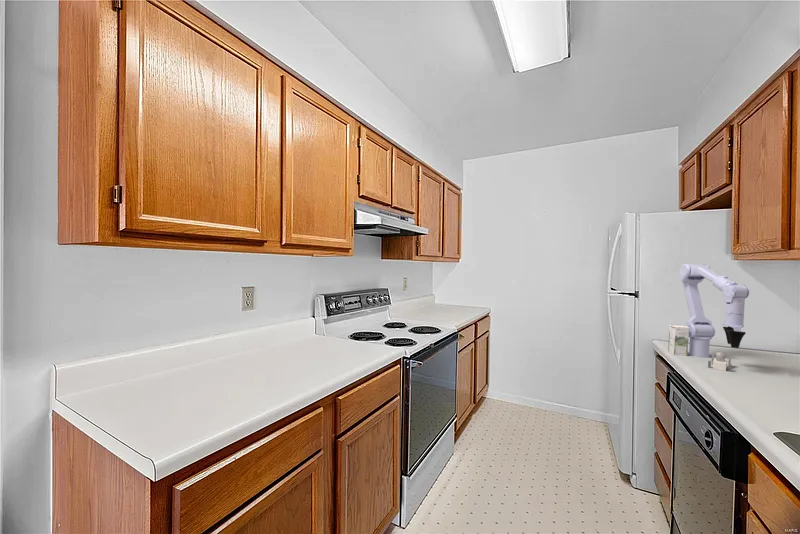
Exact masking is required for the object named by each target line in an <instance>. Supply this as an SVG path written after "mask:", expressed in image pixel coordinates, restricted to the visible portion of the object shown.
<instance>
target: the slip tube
mask: <svg viewBox="0 0 800 534" xmlns="http://www.w3.org/2000/svg"><path fill="white" fill-rule="evenodd" d="M715 353H716V354H715V357H714V361H713V365H712V369H713V370H718V371H725V372H726V371H727V368H728V359H726V353H725V352H723V351H716V352H715Z"/></svg>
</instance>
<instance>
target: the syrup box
mask: <svg viewBox="0 0 800 534" xmlns="http://www.w3.org/2000/svg"><path fill="white" fill-rule="evenodd" d="M668 331H669V332H668V347H667V353H670V354H671V355H673V356H681V357H688V354H689V352H688V351H689V338H690V337H689V327H687V326H686V324H670V323H669V329H668Z"/></svg>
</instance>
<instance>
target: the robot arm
mask: <svg viewBox="0 0 800 534" xmlns="http://www.w3.org/2000/svg"><path fill="white" fill-rule="evenodd" d="M678 273H679V278H680V281H681V282H682V285H683V286H682V287H683V290H684V296H685V299H686V304H687V309H688V312H689V319H688V320H686V321H685V326H687V327H689V337H688V338H689V346H688V351H689V352H688V354H689V356H693V357H695V358H696V357H697V358H701V359H702V358H704V359H707V358H710V357H712V354H711V355H710V346H711V345H710V341H711V340H712V338H714V336H716V329H715V327H714V325H713V323H712V321H711V320H710V319H709V318H707V317H705V313H704V309H703V305H702V300H701V295H700V291H699V287H698V285H699V284H700V283H702V282H703V281H704V280H705V279H706V280H707V281H708V280H709V282H712V285H713V286H714V287H715V288H716V289H718V290H719V291H721V292H722V295H723V297H724V302H725V313H724V315H725V316H724V317H725V318H724V322H721V323H720V325H722V329H723V330H724V333H725V336H726V337H725V338H726V342H727V345H730V347H731V348H734V349H739V348H740V345H741V342H742V339H743V338H744V336H745V335H746V334H747V333H746V332H745V331H742V328H744V327H745V324H744V320H745V319H744V318H745V303H746V300H745V299H747V298H748V297H749V295H750V289H749V287H748V286H747V285H746V284H739V283H737V282H736V281H733V280H732V279H730V278H729V276H727V275H719V274H717V273H716V272H715V271H713V270H712V269H711V266H710V265H707V264H706V263H702V264H699V263H698V264H697V263H683V264H682V265H681V266H680V268H679V270H678Z"/></svg>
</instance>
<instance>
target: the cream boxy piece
mask: <svg viewBox="0 0 800 534" xmlns="http://www.w3.org/2000/svg"><path fill="white" fill-rule="evenodd" d="M714 359H715V353H712V354H711V366H713V361H714ZM729 364H732V356H731V355H728V361H727V368H729Z"/></svg>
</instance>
